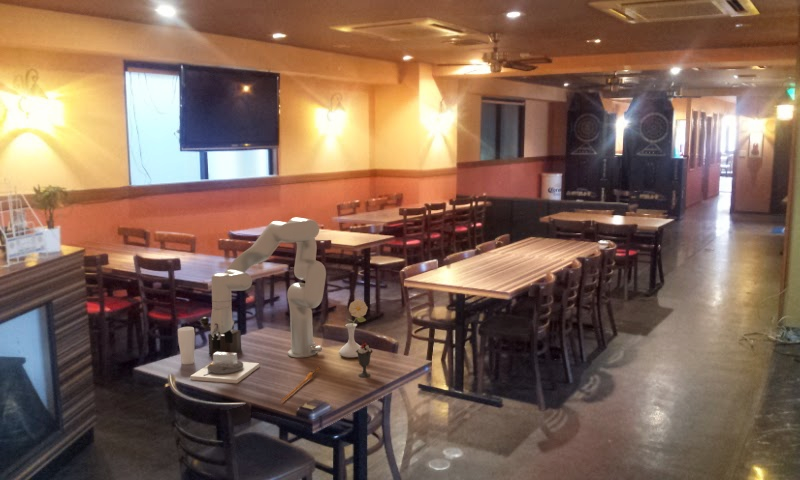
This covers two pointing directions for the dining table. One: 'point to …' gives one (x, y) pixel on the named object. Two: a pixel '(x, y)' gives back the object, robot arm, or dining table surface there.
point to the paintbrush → (301, 384)
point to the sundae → (364, 358)
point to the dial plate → (227, 378)
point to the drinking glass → (186, 344)
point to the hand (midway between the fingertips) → (223, 345)
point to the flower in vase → (356, 310)
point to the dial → (225, 363)
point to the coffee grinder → (223, 340)
